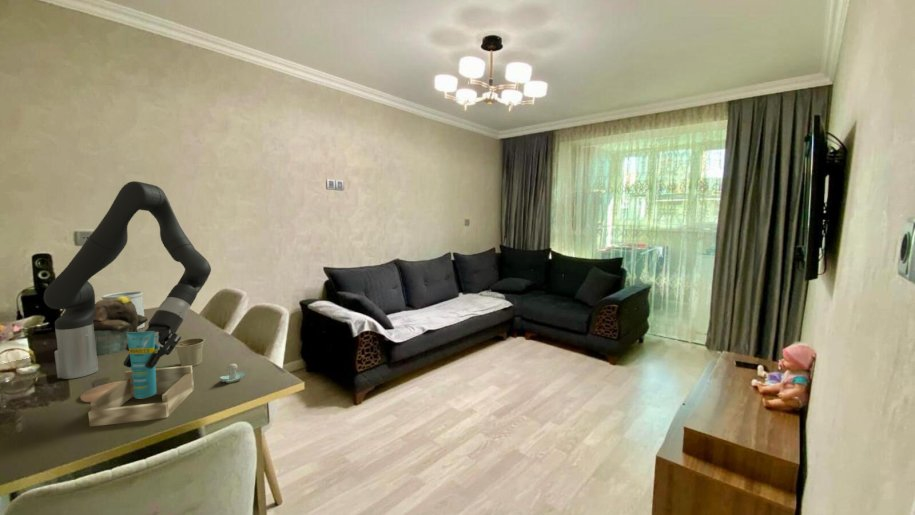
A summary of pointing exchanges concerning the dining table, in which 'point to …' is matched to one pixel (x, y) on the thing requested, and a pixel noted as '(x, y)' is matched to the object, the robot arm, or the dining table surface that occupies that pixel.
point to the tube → (142, 363)
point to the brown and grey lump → (115, 324)
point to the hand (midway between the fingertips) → (137, 366)
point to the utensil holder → (135, 299)
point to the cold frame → (168, 382)
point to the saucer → (97, 392)
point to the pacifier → (232, 374)
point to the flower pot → (190, 351)
